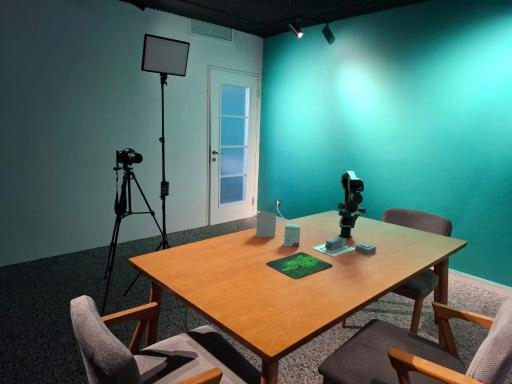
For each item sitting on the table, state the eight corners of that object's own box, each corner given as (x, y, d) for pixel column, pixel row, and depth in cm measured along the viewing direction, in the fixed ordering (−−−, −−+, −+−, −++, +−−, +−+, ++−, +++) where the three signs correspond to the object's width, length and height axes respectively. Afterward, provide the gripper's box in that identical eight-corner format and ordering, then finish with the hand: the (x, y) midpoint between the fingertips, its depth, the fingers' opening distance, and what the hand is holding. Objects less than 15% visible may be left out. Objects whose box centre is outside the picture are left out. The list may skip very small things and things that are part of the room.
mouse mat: (295, 281, 152) (295, 279, 152) (263, 264, 168) (263, 262, 168) (334, 266, 169) (334, 264, 169) (301, 253, 186) (301, 251, 185)
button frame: (363, 247, 196) (363, 242, 196) (375, 251, 190) (376, 246, 190) (354, 250, 191) (355, 245, 191) (367, 254, 185) (368, 249, 185)
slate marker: (339, 244, 198) (339, 236, 197) (345, 246, 195) (345, 238, 194) (323, 249, 189) (324, 241, 188) (329, 252, 186) (330, 243, 185)
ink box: (298, 244, 198) (300, 224, 196) (299, 247, 193) (300, 227, 191) (283, 243, 199) (285, 223, 196) (283, 246, 194) (284, 226, 192)
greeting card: (275, 236, 209) (276, 213, 206) (269, 240, 203) (270, 215, 200) (259, 233, 215) (260, 209, 212) (253, 236, 209) (254, 212, 206)
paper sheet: (334, 241, 204) (334, 241, 204) (356, 249, 193) (356, 248, 193) (312, 248, 192) (312, 247, 192) (334, 257, 180) (334, 256, 180)
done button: (364, 248, 194) (364, 243, 193) (370, 250, 191) (370, 245, 190) (360, 250, 191) (361, 245, 191) (366, 252, 188) (367, 247, 188)
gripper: (351, 195, 208) (349, 220, 211) (332, 199, 196) (329, 225, 199) (367, 199, 200) (364, 225, 203) (348, 203, 188) (345, 230, 191)
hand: (351, 226), depth 199 cm, fingers closed
